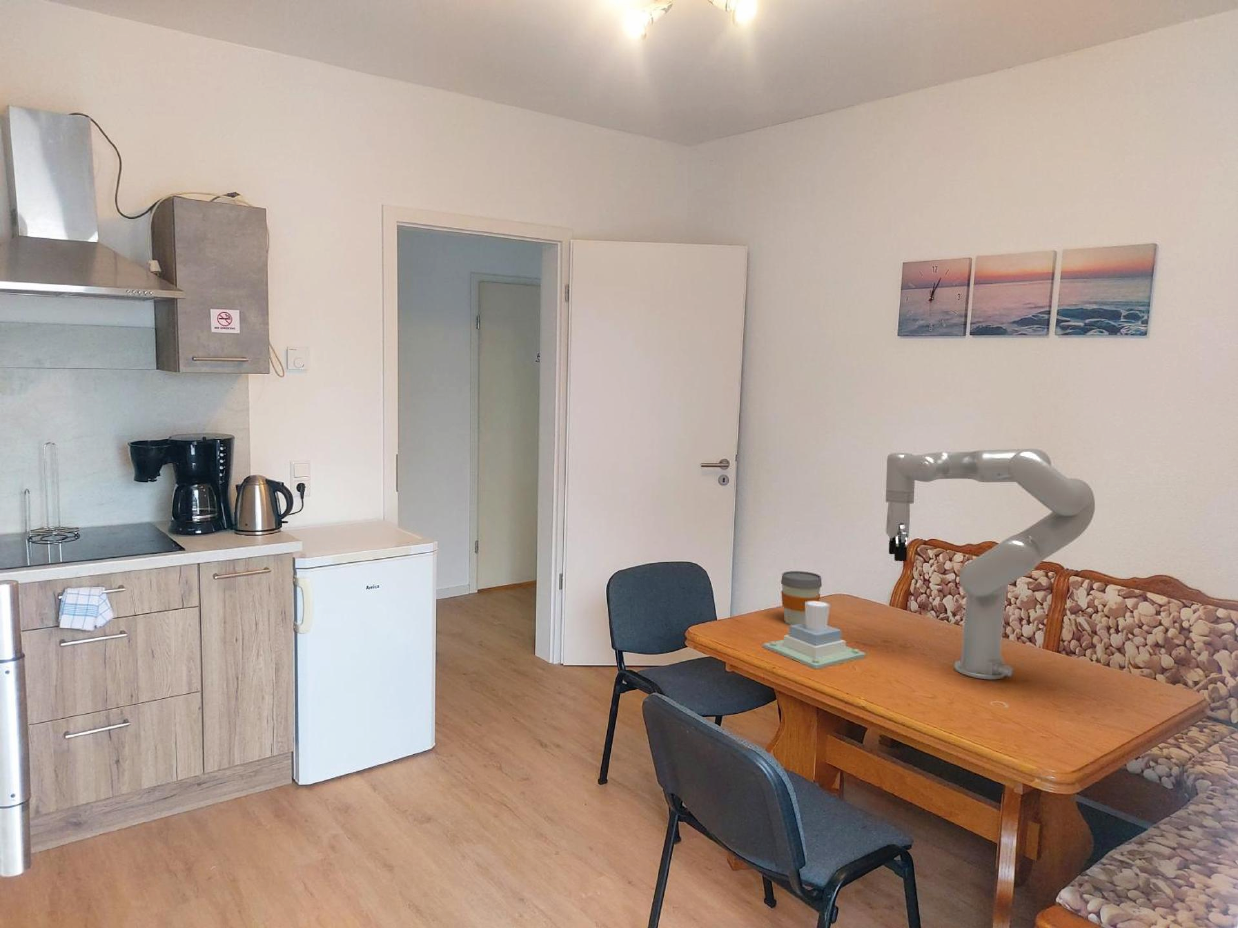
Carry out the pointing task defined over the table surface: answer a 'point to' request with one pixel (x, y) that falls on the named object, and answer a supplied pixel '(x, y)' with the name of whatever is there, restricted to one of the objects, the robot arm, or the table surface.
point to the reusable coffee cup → (798, 594)
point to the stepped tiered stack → (814, 647)
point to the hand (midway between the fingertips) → (897, 557)
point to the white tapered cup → (816, 615)
